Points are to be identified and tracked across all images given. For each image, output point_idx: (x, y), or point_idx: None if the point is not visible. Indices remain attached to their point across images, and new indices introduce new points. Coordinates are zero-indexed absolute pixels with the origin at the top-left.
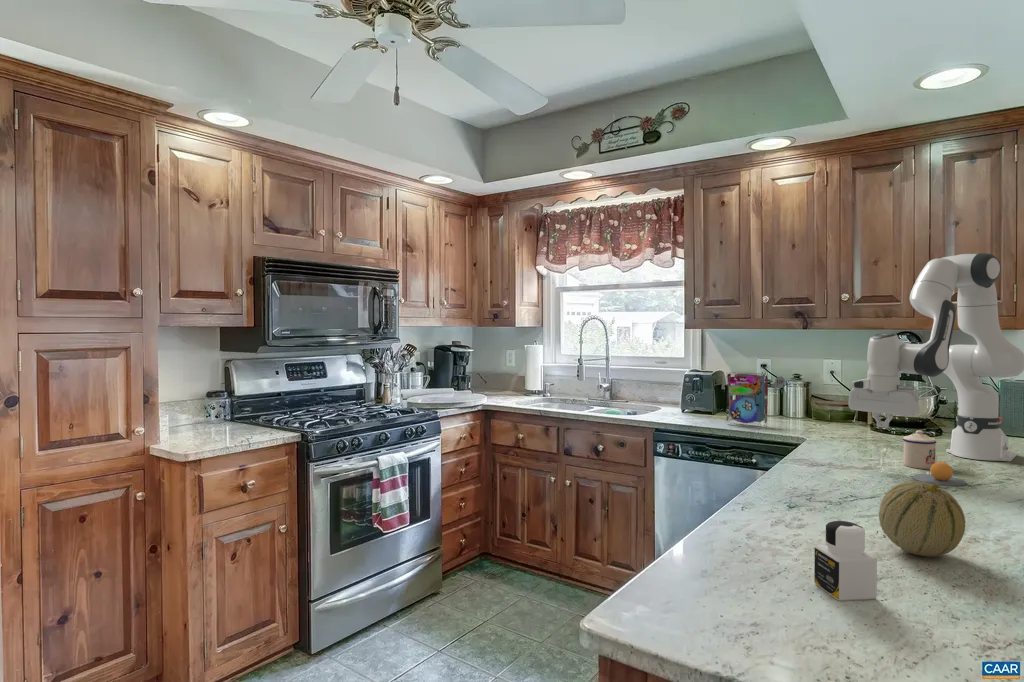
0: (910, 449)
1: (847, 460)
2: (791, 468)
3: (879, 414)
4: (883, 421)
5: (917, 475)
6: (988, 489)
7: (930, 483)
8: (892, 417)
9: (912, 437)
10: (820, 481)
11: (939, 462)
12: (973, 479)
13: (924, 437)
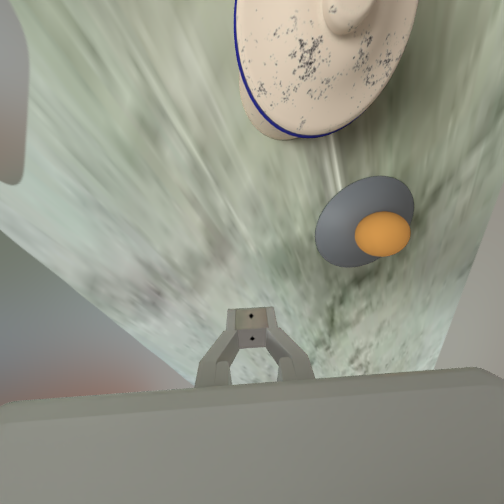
0: (289, 135)
1: (134, 207)
2: (160, 342)
3: (230, 380)
4: (248, 329)
5: (321, 228)
6: (447, 220)
7: (353, 266)
8: (305, 355)
9: (307, 101)
10: (237, 359)
11: (392, 248)
12: (432, 144)
13: (371, 59)
